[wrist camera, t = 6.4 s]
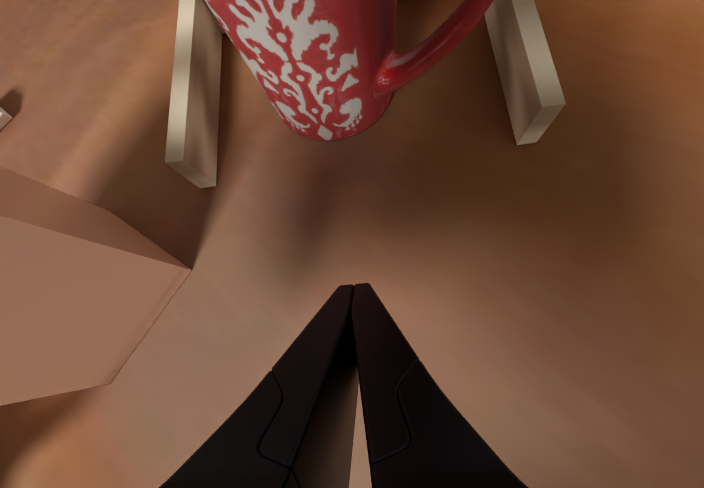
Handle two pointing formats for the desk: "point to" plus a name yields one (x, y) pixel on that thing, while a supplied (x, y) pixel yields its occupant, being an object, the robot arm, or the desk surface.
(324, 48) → the mug
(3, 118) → the marker
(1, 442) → the desk surface
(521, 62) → the bay
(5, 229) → the terracotta pot
